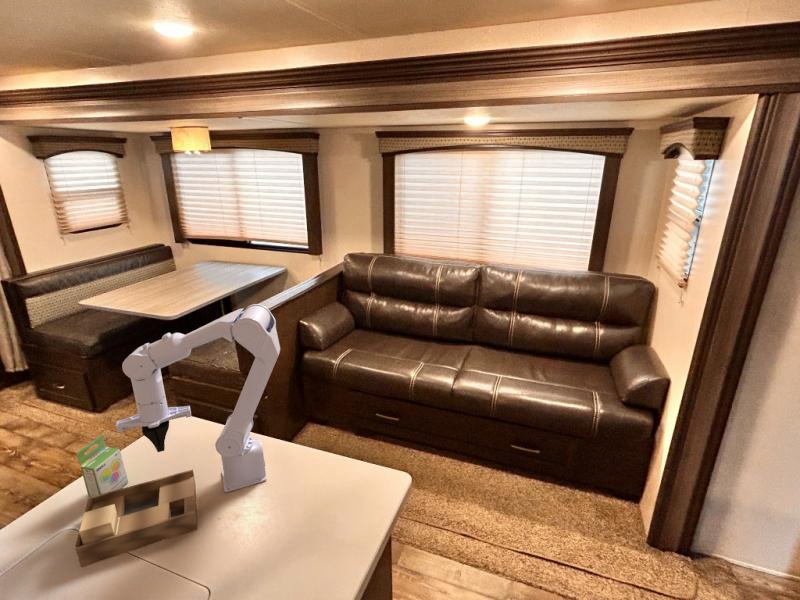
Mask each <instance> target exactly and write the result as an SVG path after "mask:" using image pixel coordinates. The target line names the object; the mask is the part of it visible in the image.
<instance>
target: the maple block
mask: <svg viewBox="0 0 800 600" xmlns="http://www.w3.org/2000/svg"><path fill="white" fill-rule="evenodd" d="M118 520H119V519H118V515H117V512H116V508H115V504H113V505H109V506H106V507H102V508H99V509H95V510H92V511H88V512H85V511H84V514H83V517H82V520H81V521H82V522H81V524H80V528H79V532H78V534H79V533H80V536H81V539H82V543H83V545H85V544H88V543H92V542H95V541H98V540H101V539H105V538H108V537H111V536H114V535H116V531H117V525H118Z"/></svg>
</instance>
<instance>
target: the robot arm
mask: <svg viewBox="0 0 800 600" xmlns="http://www.w3.org/2000/svg"><path fill="white" fill-rule="evenodd" d="M276 322H277V321H276V318H275V317H274V315H273V313H272V312H271V310H269V308H268V307H266V306H265V305H263V304H259V303H253V304H250V305H248V306H247V307H245V309H244V307H243V308H238V309H237V310H234V311H232V312H229V313H227V314H224V315H223V316H220V317H219V318H217V319H215V320H212V321H211V322H209V323H207V324H205V325H203V326H200V327H199V328H197V329H195V330H192V331H190V332H189V333H186V334H184V333H181V332H174V333H171V332H167V333H165V334H164V335H162V337H161V339H158V340H156V341H154V342H152V343H150V342H147V343H144V344H143V345H141V346H139V347H137V348H136V349H134V351H133V352H132V353H131V354H129V355H128V356H127V357H126V358H125V359H124V361H122V364H121V365H122V367H121V368H122V372H123V373H124V374H125V376H127V377H128V378H129V379H130V381H131V385H132V390H133V395H134V399H135V404H136V408H137V414H135V415H132V416H129V417H126V418H124V419H119V420H117V421H116V423H115V428H116V433H117V434H120V433H123V432H124V431H125V430H131V429H135V428H140V427H141V433H142V435H143V436H144V437H145V438H147V439H148V440H149V441H150V442H151V444H153V446H154V448H155V450H156V452H157V453H160V452H165V448H166V447H165V441H166V436H167V433H168V430H169V428H170V421H171V420H176V419H181V418H184V417H185V418H191V417H192V411H191V406H190V405H185V406H171V407H170V406H168V401H167V398H166V397H167V396H166V391H165V387H164V382H163V376H162V371H161V369H163V368H165V367H167V366H170V365H172V364H174V363H177V362H178V361H181V360H184V359H186V358H188V357H189V356H190V355H191V353H192V349H195V348H198V347H200V346H202V345H204V344H207V343H210V342H213V341H215V340H218V339H220V338H224V339H225V340H227V341H229V342H231V343H233V342H234V341H236V342H237V343H238V344H239V345H240V346H242V347H243V348H244V349H246V350H247V351H248V352H249V353H251V354H252V355H253V356H254V360H253V362H252V365H251V368H250V370H249V372H248V376H247V377H246V380H245V382H244V385H243V387H242V390H241V391H240V394H239V396H238V400H237V402H236V404H235V406H234V409H233V412H232V413H231V414H230V415H229V416H228V417H227V419H226V421H225V422H226V423H225V425H224V426H223V429H222V431H221V433H220V434H219V436H218V438H217V439H216V442H215V445H214V446H215V449H216V450H215V451H216V452H217V453H218V454H219V455H220V456H221V462H222V470H221V474H222V483H223V491H224V493H229V492H234V491H237V490H239V489H243V488H246V487H249V486H253V485H256V484H259V483H262V482H265V481H267V475H266V474H267V472H266V460H265V456H264V449H263V445H262V440H261V438H260V439H259V438H258V439H253V438H252V436H251V432H252V429H253V427H254V420H253V417H254V415H255V413H256V410H257V407H258V405H259V402H260V400H261V398H262V396H263V394H264V391H265V389H266V387H267V384H268V381H269V380H270V377H271V375H272V372H273V369H274V367H275V365H276V362H277V361H278V358H279V355H280V352H281V345H280V340H279V336H278V331H277V323H276Z"/></svg>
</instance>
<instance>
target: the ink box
mask: <svg viewBox="0 0 800 600" xmlns="http://www.w3.org/2000/svg"><path fill="white" fill-rule="evenodd" d="M105 443H106V442H105V438H104V434H103V433H102V434H101V435H99V436H98V437H97V438H95V439H94V440H92V441H91V442H90V443H88V444H87V445H85V446H84V447H83V448H81V449H80V450H79V451H77V452H76V455H77V459H78V463H79V466H80V470H81V474H82V477H83V482H84V485H85V488H86V492H87V497H88V498H89V497H91V496H92V497H93V496H97V495H100V494H104V493H108V492H111V491H115V490H119V489H122V488H124V487H125V486H126V485H127V484H128V483H129V480H128V475H127V472H126V468H125V464H124V460H123V456H122V452H121V449H120V448H116V447H110V446H107V445H106V444H105ZM97 444H98V445H97ZM94 445H97V446H96V447H95V448H93V449H92V450H90V451H89V452H88V453H87V451H88V450H89V449H90V448H92V447H93V446H94ZM86 453H87V454H86ZM85 454H86V455H85Z"/></svg>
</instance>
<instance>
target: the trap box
mask: <svg viewBox="0 0 800 600" xmlns="http://www.w3.org/2000/svg"><path fill="white" fill-rule="evenodd" d="M194 474H195V473H194V469H190V470H185V471H181V472H178V473H174V474H171V475H167V476H163V477H160V478H156V479H151V480H149V481H145V482H141V483H138V484H132V485H131V486H126V487H122V488H121V489H119V490H115V491H111V492H108V493H104V494H100V495H97V496H93V497H92V496H91V497H88V499H87V502H86V506H85V510H84V513H85V512H88V511H92V510H95V509H99V508H102V507H106V506H109V505H113V504H115V508H116V512H117V515H118V519H119V520H118V525H117V531H116V535H114V536H111V537H108V538H105V539H101V540H98V541H95V542H92V543H88V544H85V545H83V543H82V539H81V536H80V533H79V532H78V535H77V540H76V541H75V549H74V550H75V552H76V555H77V558H78V562H79V565H80V568H84V567H86V566H89V565H93V564H96V563H98V562H102V561H104V560H107V559H111V558H114V557H117V556H119V555H122V554H126V553H129V552H133V551H135V550H139V549H141V548H144V547H148V546H151V545H153V544H156V543H161V542H162V541H165V540H170V539H171V538H175V537H178V536H181V535H184V534H186V533H190V532H194V531H196V530H198V519H197V518H198V515H197V514H198V513H197V511H198V510H197V490H196V489H197V488H196V487H197V485H196V480H195V479H196V478H195V475H194Z"/></svg>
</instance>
